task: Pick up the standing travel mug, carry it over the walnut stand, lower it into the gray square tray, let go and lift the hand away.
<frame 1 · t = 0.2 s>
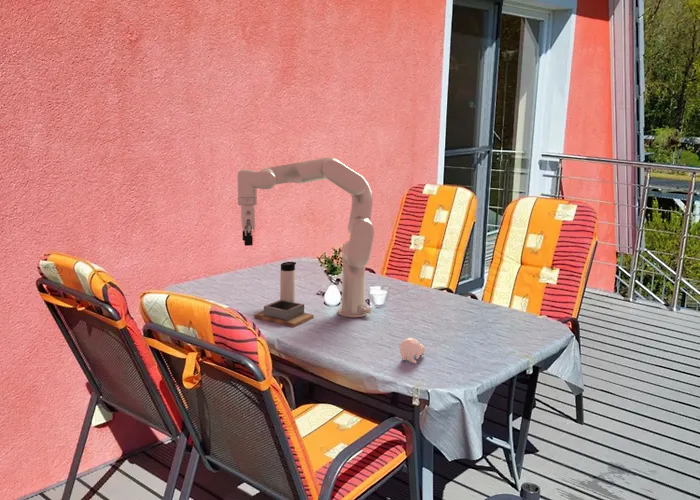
hand: (247, 242, 273), 31 cm above the table, tool pointing down, fingers open, 9 cm apart
walnut stand: (284, 318, 278), on the table
pink animal figurine: (413, 359, 238), on the table
gray square tray: (284, 309, 277), on the walnut stand, point 4 cm above the table
travel mug: (287, 307, 294), on the table
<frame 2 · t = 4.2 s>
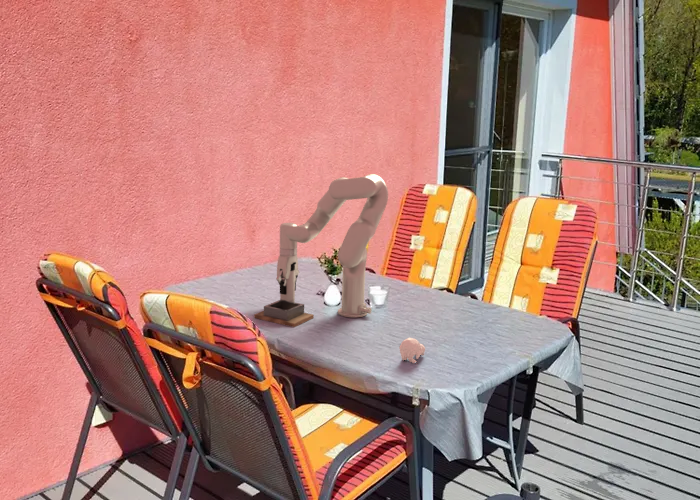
hand: (287, 291, 292), 7 cm above the table, tool pointing down, fingers closed on travel mug, 6 cm apart
travel mug: (287, 306, 294), on the table, touching gripper
everything else where it was.
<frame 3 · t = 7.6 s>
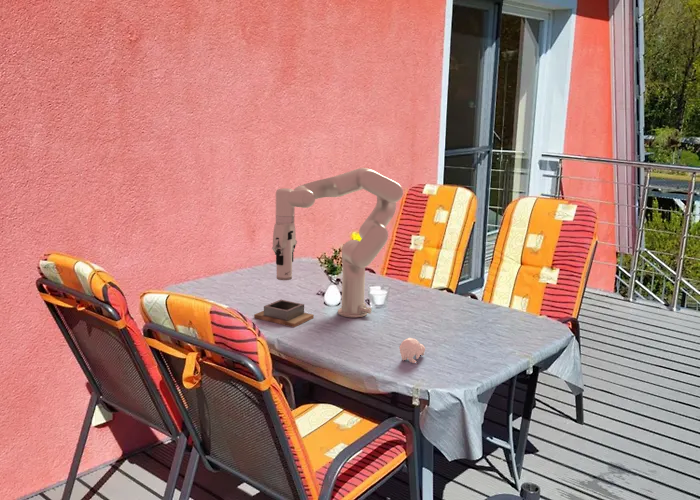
hand: (284, 262, 273), 23 cm above the table, tool pointing down, fingers closed on travel mug, 6 cm apart
travel mug: (284, 279, 275), point 17 cm above the table, touching gripper
everything else where it was.
when the fingers open (10 cm above the table, at t = 10.9 s): travel mug drops 2 cm, resting on walnut stand.
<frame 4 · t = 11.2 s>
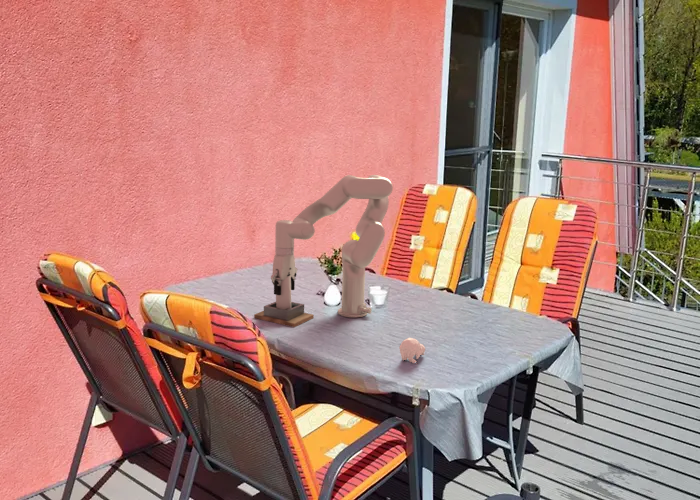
hand: (284, 291, 276), 11 cm above the table, tool pointing down, fingers open, 9 cm apart
travel mug: (284, 314, 278), point 1 cm above the table, touching walnut stand
everything else where it was.
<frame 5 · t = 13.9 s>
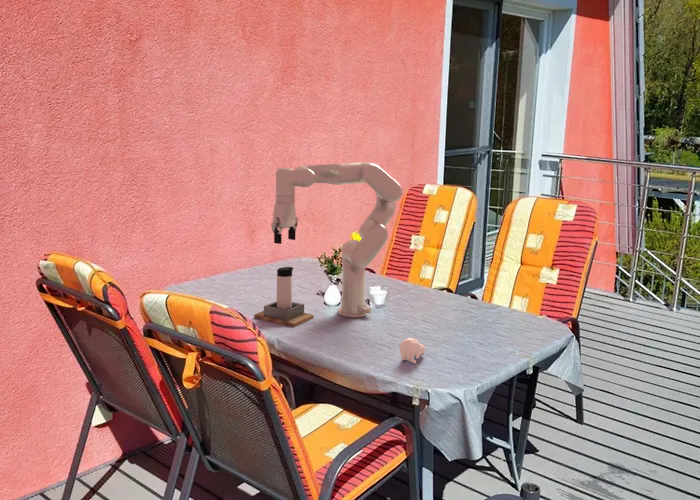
hand: (284, 241, 271), 32 cm above the table, tool pointing down, fingers open, 9 cm apart
nothing on the table moved.
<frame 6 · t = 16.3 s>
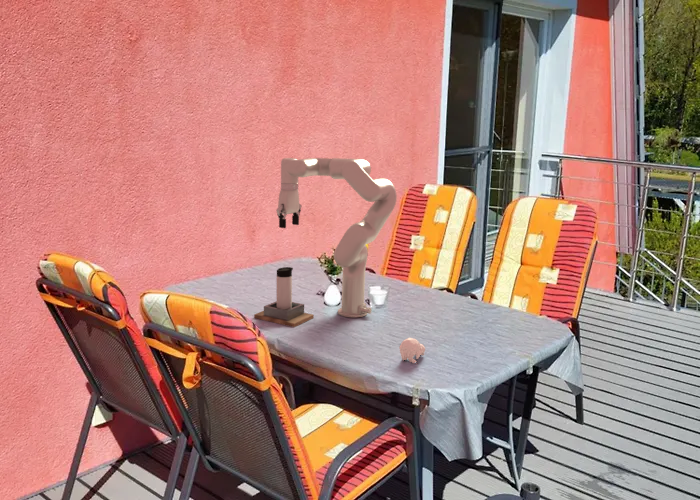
hand: (289, 226, 294), 34 cm above the table, tool pointing down, fingers open, 9 cm apart
nothing on the table moved.
at the end: travel mug 0.2 cm off-centre on the gray square tray, point 1.3 cm above the gray square tray's base; travel mug tilted 1°; the gripper is holding nothing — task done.
